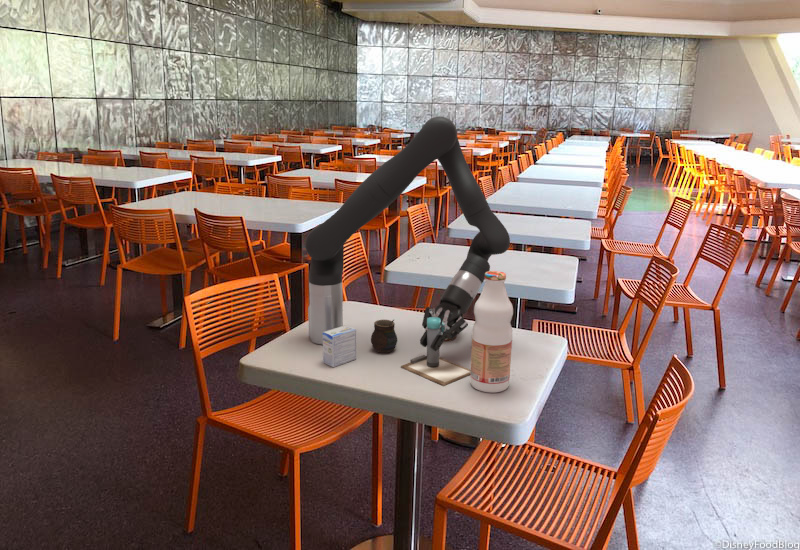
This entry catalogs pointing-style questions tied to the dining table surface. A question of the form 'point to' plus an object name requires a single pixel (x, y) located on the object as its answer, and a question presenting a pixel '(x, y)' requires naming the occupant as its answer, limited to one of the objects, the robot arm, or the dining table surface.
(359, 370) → the dining table surface
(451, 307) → the robot arm
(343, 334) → the medicine box
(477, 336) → the fruit juice
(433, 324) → the ball
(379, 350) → the mate gourd
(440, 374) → the clipboard
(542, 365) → the dining table surface
